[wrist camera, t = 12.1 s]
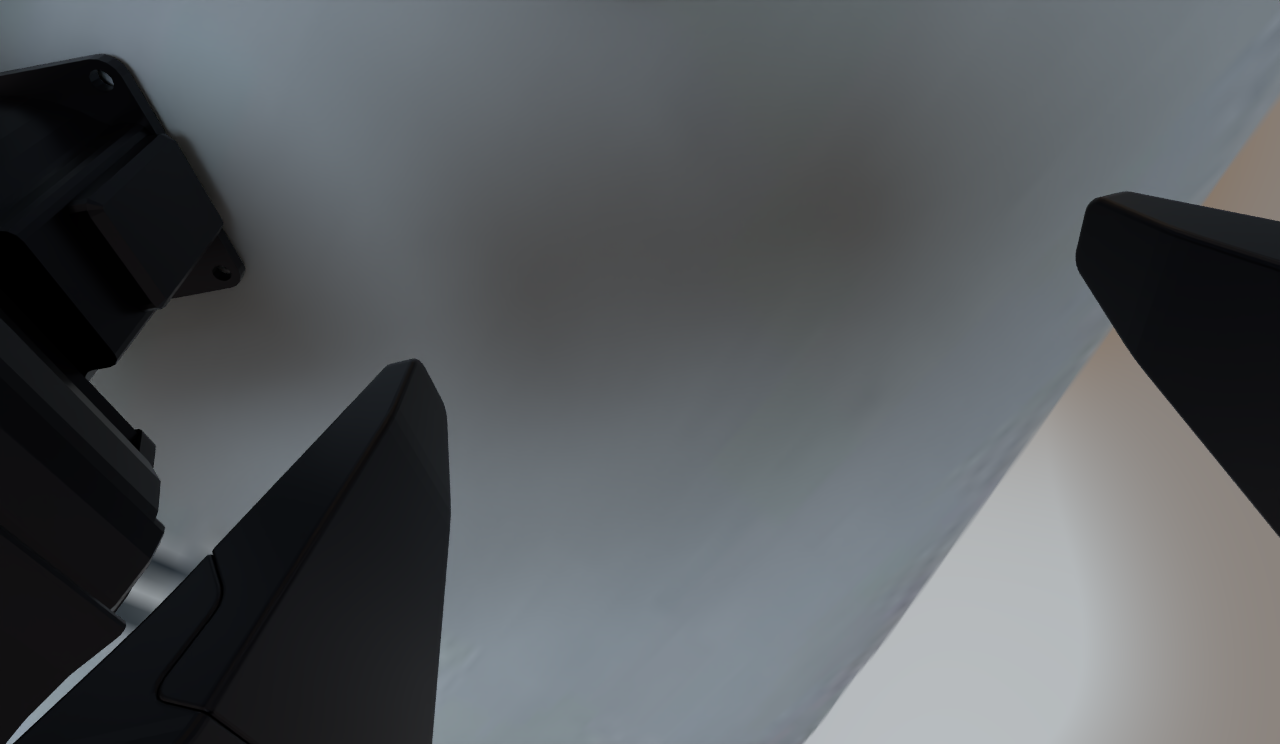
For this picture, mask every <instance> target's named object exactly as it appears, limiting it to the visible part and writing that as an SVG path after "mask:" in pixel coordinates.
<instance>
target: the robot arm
mask: <svg viewBox="0 0 1280 744" xmlns="http://www.w3.org/2000/svg"><path fill="white" fill-rule="evenodd" d="M97 70H102V71H104V72H105V73H107V74H108V75H109V76H110V77H111V78H112V80H113V83H114V86H109V85H108V84H106V83H104V82H103V81H102V80H101V79H100V78H99V76H98V73H97ZM222 225H223V221H222V219H221V217H220V215H219V214H218V212H217V210H216V209H215V207H214V205H213V204H212V202H211V200H210V198H209V197H208V195H207V193H206V192H205V190H204V188H203V187H202V185H201V183H200V182H199V180H198V178H197V176H196V175H195V173H194V171H193V170H192V168H191V166H190V165H189V163H188V161H187V159H186V158H185V156H184V154H183V153H182V151H181V149H180V148H179V146H178V144H177V143H176V141H175V140H173V139H172V138H170V137H169V136H168V135H167V134H166V133H165V131H164V129H163V128H162V126H161V124H160V123H159V121H158V119H157V118H156V116H155V114H154V112H153V111H152V109H151V107H150V106H149V104H148V102H147V101H146V99H145V97H144V96H143V94H142V92H141V91H140V89H139V87H138V86H137V84H136V82H135V81H134V79H133V77H132V75H131V74H130V72H129V71H128V70H127V68H126V67H125V66H124V65H123V64H122V63H121V62H120V61H118V60H117V59H115V58H113V57H111V56H108V55H105V54H95V55H90V56H85V57H79V58H74V59H69V60H64V61H58V62H53V63H48V64H43V65H37V66H32V67H27V68H22V69H17V70H11V71H6V72H1V73H0V744H6V743H7V741H8V740H9V739H10V738H11V736H12V735H13V734H14V733H15V732H16V730H17V729H18V728H19V727H20V725H21V724H22V723H23V722H24V721H25V719H26V718H27V717H28V716H29V715H30V714H31V713H32V712H33V711H34V710H35V709H36V708H37V707H38V706H39V705H40V704H41V703H42V702H43V701H44V700H45V699H46V698H47V697H48V696H49V695H50V694H51V693H52V692H53V691H54V690H55V689H56V688H57V687H58V686H59V685H60V684H61V683H62V682H63V681H64V680H65V679H66V678H67V677H68V676H69V675H71V674H72V673H73V672H74V671H76V670H77V669H78V668H80V667H81V666H82V665H83V664H85V663H86V662H87V661H88V660H90V659H91V658H92V657H94V656H95V655H96V654H97V653H99V652H100V651H101V650H102V649H104V648H105V647H106V646H107V645H109V644H110V643H111V642H113V641H114V640H115V639H116V638H118V637H119V636H120V635H121V634H122V632H123V631H124V630H125V627H126V622H125V621H124V620H123V619H121V618H120V617H119V616H117V615H116V614H115V612H116V611H117V609H118V608H119V607H120V605H121V604H122V603H123V601H124V600H125V599H126V597H127V596H128V594H129V592H130V591H131V589H132V587H133V586H134V584H135V583H136V582H137V580H138V579H139V578H140V576H141V575H142V574H143V572H144V571H145V570H146V568H147V567H148V565H149V563H150V561H151V559H152V557H153V556H154V554H155V552H156V550H157V548H158V546H159V544H160V542H161V539H162V537H163V534H164V530H165V527H164V525H163V524H162V523H161V522H160V521H159V520H158V519H157V518H156V516H157V513H158V507H159V495H160V483H161V481H160V479H159V478H158V476H157V474H156V473H155V471H154V469H153V467H154V458H155V450H156V446H155V444H154V443H153V442H152V441H151V440H150V439H149V437H148V436H147V435H146V434H145V433H144V432H143V431H142V430H140V429H135V430H134V429H133V427H132V426H131V425H130V424H129V423H128V422H127V421H126V420H125V419H124V418H123V417H122V416H121V415H120V414H119V413H118V412H117V411H116V410H115V409H114V407H113V406H112V405H111V404H110V403H109V402H108V401H107V400H106V399H105V398H104V397H103V396H102V395H101V394H100V393H99V392H98V391H97V390H96V388H95V387H94V386H93V385H92V384H91V383H90V382H89V380H90V379H91V378H92V376H93V375H94V374H95V373H96V371H97V370H98V369H102V368H108V367H111V366H113V365H115V364H116V363H117V362H118V360H119V359H120V358H121V356H122V355H123V354H124V352H125V351H126V350H127V348H128V347H129V346H130V344H131V343H132V342H133V340H134V339H135V338H136V336H137V335H138V334H139V332H140V331H141V330H142V328H143V327H144V326H145V324H146V323H147V322H148V320H149V319H150V318H151V316H152V315H153V314H154V312H155V311H156V310H157V309H162V308H164V307H165V306H166V305H167V303H168V302H169V301H170V299H172V298H177V297H183V296H188V295H193V294H199V293H204V292H210V291H215V290H220V289H226V288H231V287H233V286H236V285H237V284H238V283H239V282H240V280H241V279H242V277H243V275H244V273H245V267H244V264H243V262H242V260H241V259H240V257H239V255H238V254H237V252H236V250H235V249H234V247H233V245H232V244H231V242H230V240H229V239H228V237H227V235H226V234H225V232H224V230H223V229H222ZM1076 265H1077V268H1078V271H1079V273H1080V275H1081V276H1082V278H1083V279H1084V281H1085V282H1086V284H1087V286H1088V287H1089V289H1090V290H1091V292H1092V294H1093V295H1094V297H1095V298H1096V300H1097V301H1098V303H1099V305H1100V306H1101V308H1102V309H1103V311H1104V313H1105V314H1106V316H1107V317H1108V319H1109V320H1110V322H1111V324H1112V325H1113V327H1114V328H1115V330H1116V331H1117V333H1118V335H1119V336H1120V338H1121V339H1122V341H1123V343H1124V344H1125V346H1126V347H1127V348H1128V350H1129V351H1130V353H1131V354H1132V356H1133V357H1134V359H1135V360H1136V361H1137V363H1138V364H1139V365H1140V366H1141V368H1142V369H1143V370H1144V372H1145V373H1146V374H1147V375H1148V377H1149V378H1150V379H1151V380H1152V382H1153V383H1154V384H1155V385H1156V386H1157V388H1158V389H1159V390H1160V391H1161V393H1162V394H1163V395H1164V396H1165V398H1166V399H1167V400H1168V401H1169V402H1170V404H1171V405H1172V406H1173V407H1174V409H1175V410H1176V411H1177V412H1178V413H1179V415H1180V416H1181V417H1182V418H1183V420H1184V421H1185V422H1186V423H1187V424H1188V426H1189V427H1190V428H1191V429H1192V431H1193V432H1194V433H1195V434H1196V436H1197V437H1198V438H1199V439H1200V440H1201V442H1202V443H1203V444H1204V445H1205V446H1206V448H1207V449H1208V450H1209V452H1210V453H1211V454H1212V455H1213V456H1214V457H1215V459H1216V460H1217V461H1218V463H1219V464H1220V465H1221V466H1222V467H1223V469H1224V470H1225V471H1226V472H1227V474H1228V475H1229V476H1230V477H1231V479H1232V480H1233V481H1234V482H1235V483H1236V484H1237V486H1238V487H1239V488H1240V489H1241V491H1242V492H1243V493H1244V494H1245V496H1246V497H1247V498H1248V499H1249V501H1250V502H1251V503H1252V504H1253V506H1254V507H1255V508H1256V509H1257V510H1258V512H1259V513H1260V514H1261V515H1262V517H1263V518H1264V519H1265V520H1266V521H1267V523H1268V524H1269V525H1270V526H1271V528H1272V529H1273V530H1274V531H1275V533H1276V534H1277V535H1278V536H1279V537H1280V222H1279V221H1275V220H1270V219H1265V218H1260V217H1255V216H1250V215H1245V214H1239V213H1235V212H1230V211H1225V210H1220V209H1214V208H1209V207H1205V206H1199V205H1194V204H1189V203H1184V202H1179V201H1174V200H1169V199H1164V198H1159V197H1154V196H1149V195H1144V194H1139V193H1134V192H1119V193H1115V194H1111V195H1106V196H1102V197H1098V198H1095V199H1094V200H1092V201H1091V202H1090V203H1089V205H1088V206H1087V208H1086V211H1085V215H1084V219H1083V224H1082V228H1081V232H1080V236H1079V241H1078V245H1077V249H1076ZM218 266H223V267H226V268H227V269H228V270H229V271H230V272H231V274H229V273H224V272H222V271H221V270H220V269H219V268H218ZM450 518H451V497H450V474H449V451H448V429H447V415H446V410H445V406H444V403H443V401H442V399H441V397H440V395H439V393H438V391H437V389H436V387H435V386H434V384H433V382H432V380H431V378H430V376H429V374H428V372H427V370H426V368H425V367H424V365H423V364H422V363H421V362H420V361H419V360H417V359H409V360H405V361H401V362H396V363H392V364H389V365H387V366H386V367H385V368H384V369H383V370H382V371H381V372H380V373H379V374H378V375H377V376H376V377H375V379H374V380H373V381H372V382H371V383H370V384H369V385H368V386H367V387H366V388H365V389H364V390H363V391H362V392H361V393H360V394H359V395H358V397H357V398H356V399H355V400H354V401H353V402H352V403H351V404H350V405H349V406H348V407H347V408H346V409H345V410H344V411H343V412H342V413H341V415H340V416H339V417H338V418H337V419H336V420H335V421H334V422H333V423H332V424H331V425H330V426H329V427H328V428H327V429H326V430H325V431H324V433H323V434H322V435H321V436H320V437H319V438H318V439H317V440H316V441H315V442H314V443H313V444H312V445H311V446H310V447H309V448H308V449H307V450H306V452H305V453H304V454H303V455H302V456H301V457H300V458H299V459H298V460H297V461H296V462H295V463H294V464H293V465H292V466H291V467H290V468H289V470H288V471H287V472H286V473H285V474H284V475H283V476H282V477H281V478H280V479H279V480H278V481H277V482H276V483H275V484H274V485H273V486H272V487H271V489H270V490H269V491H268V492H267V493H266V494H265V495H264V496H263V497H262V498H261V499H260V500H259V501H258V502H257V503H256V504H255V505H254V506H253V508H252V509H251V510H250V511H249V512H248V513H247V514H246V515H245V516H244V517H243V518H242V519H241V520H240V521H239V522H238V523H237V524H236V526H235V527H234V528H233V529H232V530H231V531H230V532H229V533H228V534H227V535H226V536H225V537H224V538H223V539H222V540H221V541H220V542H219V543H218V545H217V546H216V547H215V548H214V549H213V551H212V553H213V555H207V556H206V557H205V558H204V559H203V560H202V561H201V562H200V563H199V565H198V566H197V567H196V568H195V569H194V570H193V571H192V572H191V573H190V574H189V575H188V576H187V577H186V578H185V579H184V580H183V581H182V582H181V583H180V584H179V586H178V587H177V588H176V589H175V590H174V591H173V592H172V593H171V594H170V595H169V596H168V597H167V598H166V599H165V600H164V601H163V602H162V603H161V604H160V605H159V606H158V607H157V608H156V609H155V610H154V611H153V612H152V613H151V614H150V615H149V616H148V617H147V618H146V619H145V620H144V621H143V622H142V623H141V624H140V625H139V626H138V627H137V628H136V629H135V630H134V631H132V632H131V633H130V634H129V635H128V636H127V637H126V638H125V639H124V640H123V641H122V642H121V643H120V644H119V645H118V646H117V647H116V648H115V649H114V650H113V651H112V652H111V653H109V654H108V655H107V656H106V657H105V658H104V659H103V660H102V661H101V662H100V663H99V664H98V665H97V666H96V667H95V668H94V669H92V670H91V671H90V672H89V673H88V674H87V675H86V676H85V677H84V678H83V679H82V680H81V681H80V682H79V683H77V684H76V685H75V686H74V687H73V688H72V689H71V690H70V691H69V692H68V693H67V694H66V695H65V696H64V697H62V698H61V699H60V700H59V701H58V702H57V703H56V704H55V705H54V706H53V707H52V708H51V709H50V710H49V711H47V712H46V713H45V714H44V715H43V716H42V717H41V718H40V719H39V720H38V721H37V722H36V723H35V724H34V725H33V726H31V727H30V728H29V729H28V730H27V731H26V732H25V733H24V734H23V735H22V736H21V737H20V738H19V739H18V740H16V741H15V742H14V743H13V744H432V738H433V726H434V714H435V702H436V690H437V678H438V666H439V654H440V642H441V630H442V618H443V606H444V594H445V582H446V570H447V558H448V546H449V534H450Z"/></svg>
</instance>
